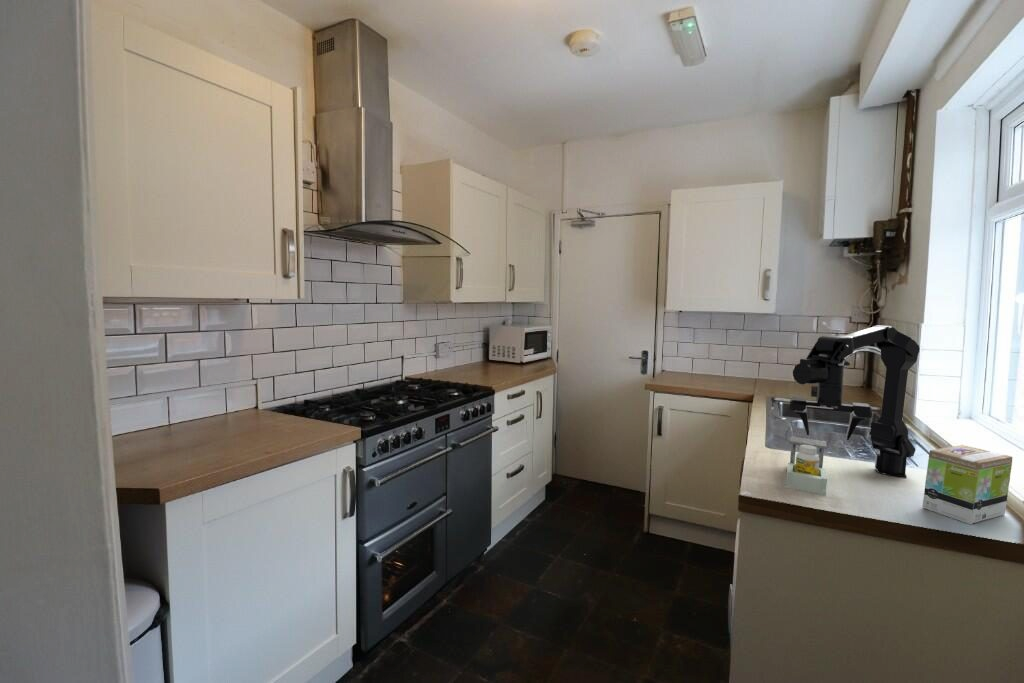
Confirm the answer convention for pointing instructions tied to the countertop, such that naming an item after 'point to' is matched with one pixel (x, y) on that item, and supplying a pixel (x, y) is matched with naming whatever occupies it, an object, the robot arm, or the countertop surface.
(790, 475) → the socket block
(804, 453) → the supplement bottle
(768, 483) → the countertop surface
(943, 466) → the tea box
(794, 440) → the grey frame
